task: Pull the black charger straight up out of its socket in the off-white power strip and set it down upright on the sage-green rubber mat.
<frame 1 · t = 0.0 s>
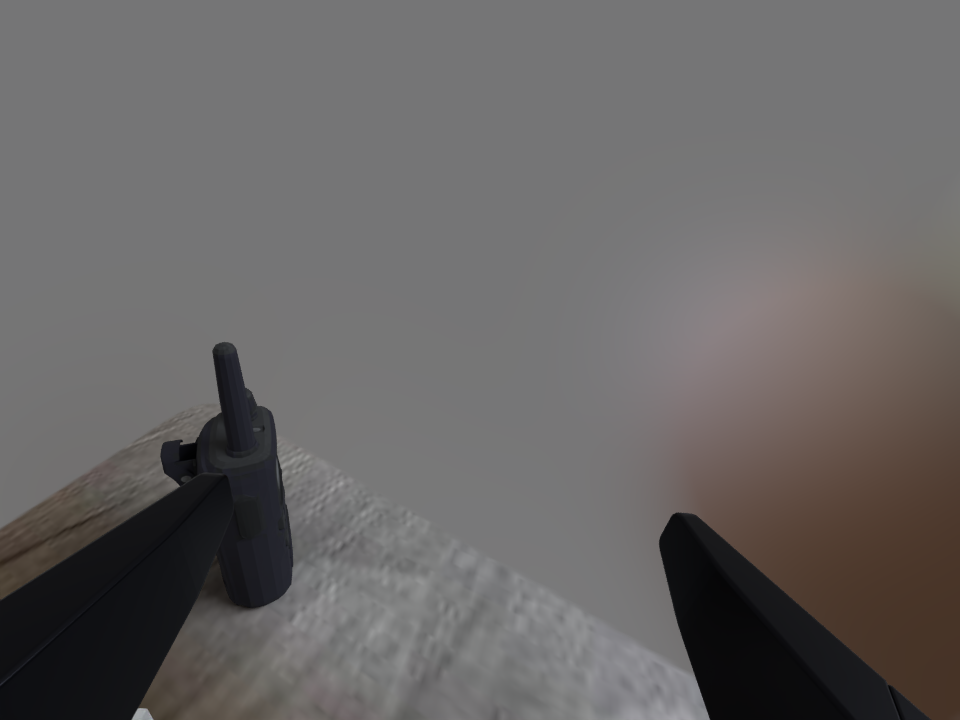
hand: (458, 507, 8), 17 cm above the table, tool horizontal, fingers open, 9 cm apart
two-way radio: (251, 573, 23), on the table
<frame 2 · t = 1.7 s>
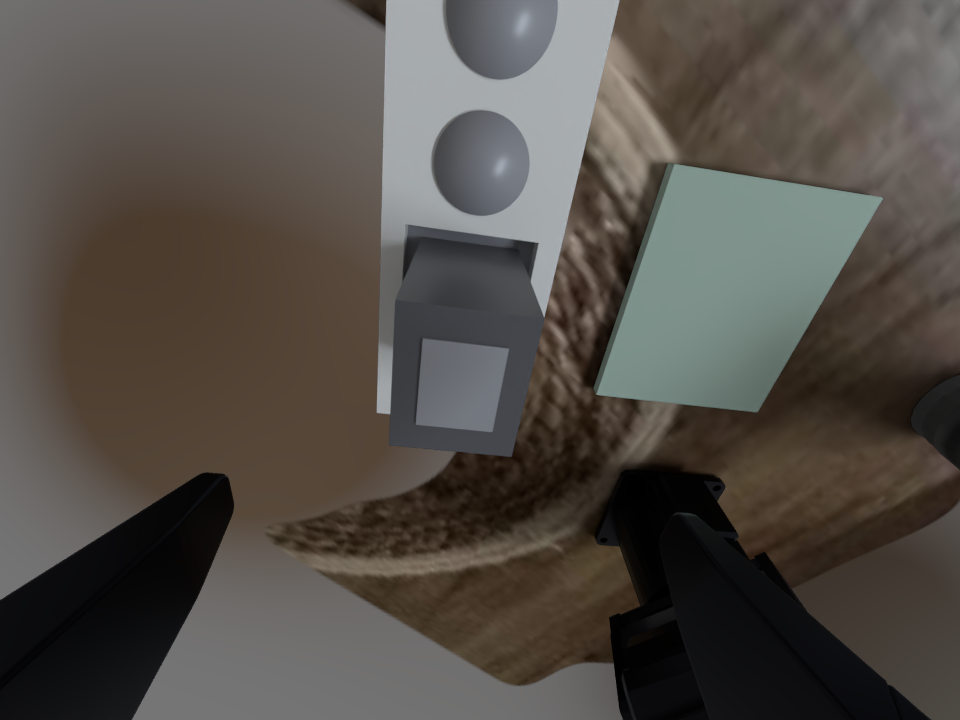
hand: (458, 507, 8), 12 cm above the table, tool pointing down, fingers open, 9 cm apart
charger: (463, 299, 18), point 1 cm above the table, touching power strip
power strip: (475, 200, 17), on the table
mat: (715, 303, 20), on the table
beverage cup: (951, 403, 23), on the table
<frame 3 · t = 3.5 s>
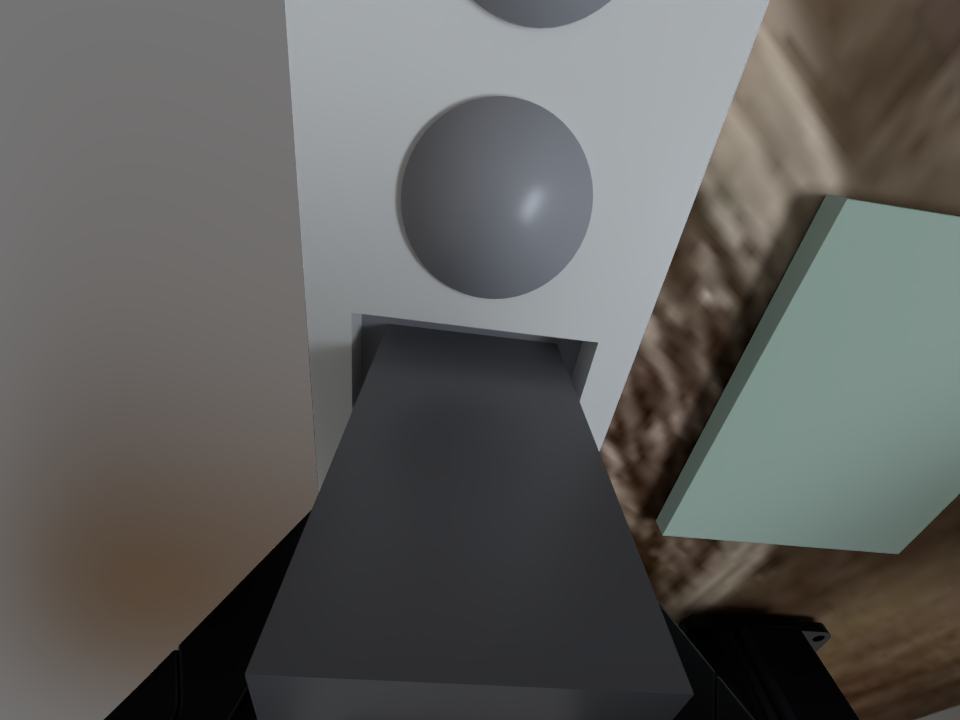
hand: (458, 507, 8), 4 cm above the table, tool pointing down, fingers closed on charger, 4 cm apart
charger: (461, 418, 11), point 1 cm above the table, touching gripper, power strip
power strip: (482, 258, 10), on the table
mat: (862, 410, 12), on the table
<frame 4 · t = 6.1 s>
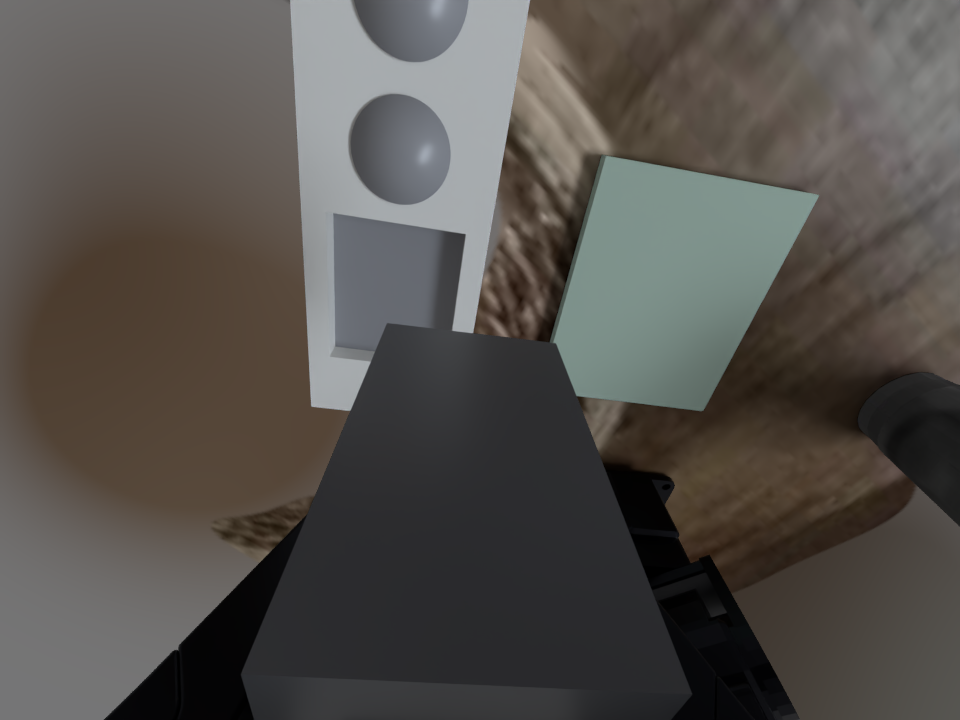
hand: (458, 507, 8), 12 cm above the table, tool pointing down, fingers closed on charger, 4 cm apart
charger: (460, 417, 11), point 9 cm above the table, touching gripper
power strip: (405, 189, 17), on the table
mat: (657, 299, 19), on the table
beverage cup: (898, 404, 23), on the table
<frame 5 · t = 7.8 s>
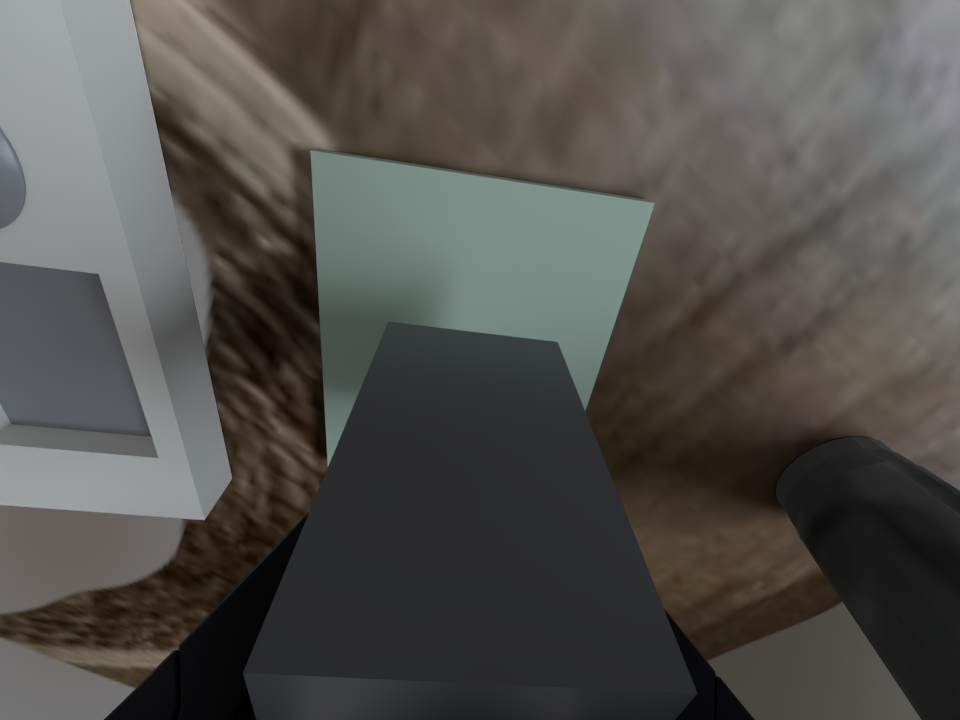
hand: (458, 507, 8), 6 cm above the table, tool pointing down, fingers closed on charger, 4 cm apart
charger: (461, 416, 11), point 4 cm above the table, touching gripper
power strip: (43, 207, 11), on the table
mat: (463, 351, 14), on the table
beverage cup: (828, 474, 17), on the table
when the fingers open (5 cm above the table, at t = 8.9 s): charger drops 1 cm, resting on mat.
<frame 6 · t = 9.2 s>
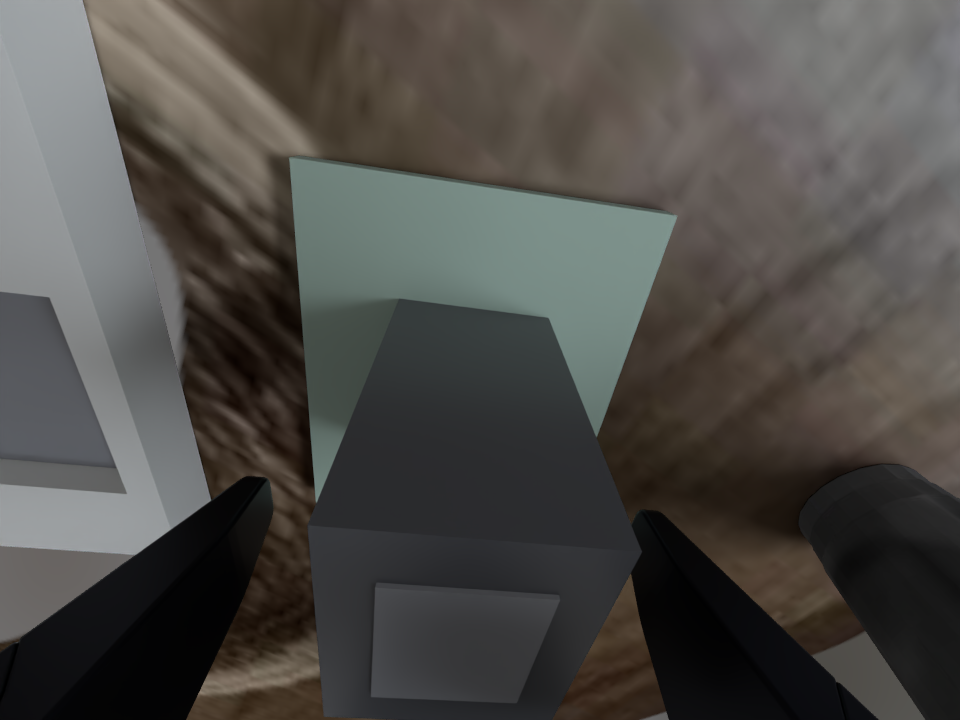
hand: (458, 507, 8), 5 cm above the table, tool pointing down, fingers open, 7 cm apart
charger: (463, 386, 12), point 1 cm above the table, touching mat
mat: (462, 375, 13), on the table
beverage cup: (855, 502, 16), on the table
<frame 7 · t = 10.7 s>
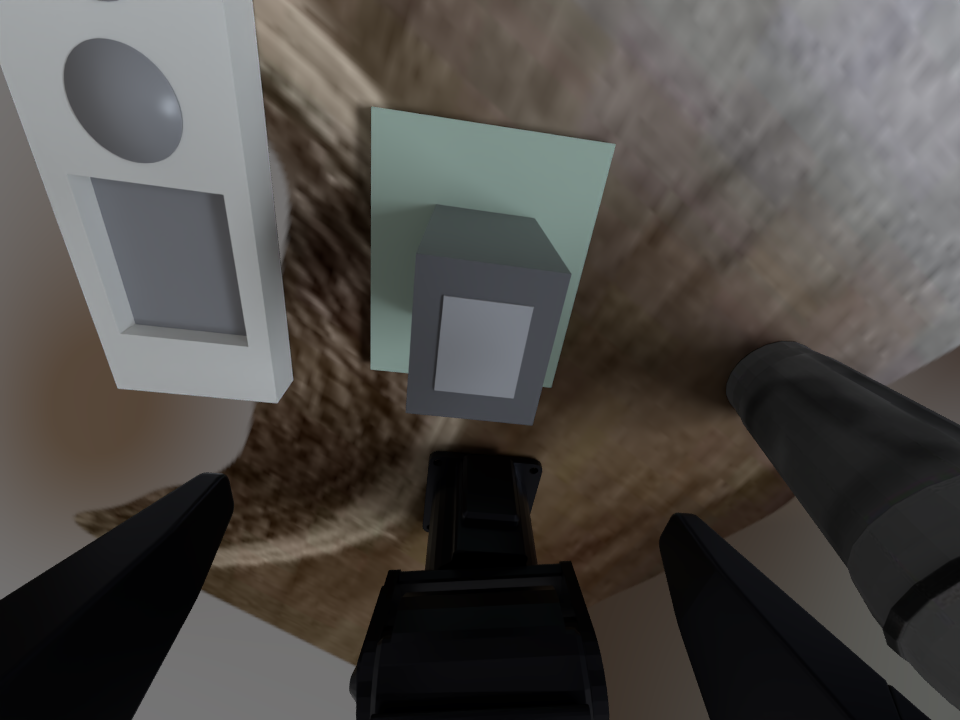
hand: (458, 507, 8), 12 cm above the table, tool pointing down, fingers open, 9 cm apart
charger: (477, 271, 18), point 1 cm above the table, touching mat
power strip: (175, 152, 16), on the table
mat: (476, 267, 18), on the table
beverage cup: (767, 377, 22), on the table
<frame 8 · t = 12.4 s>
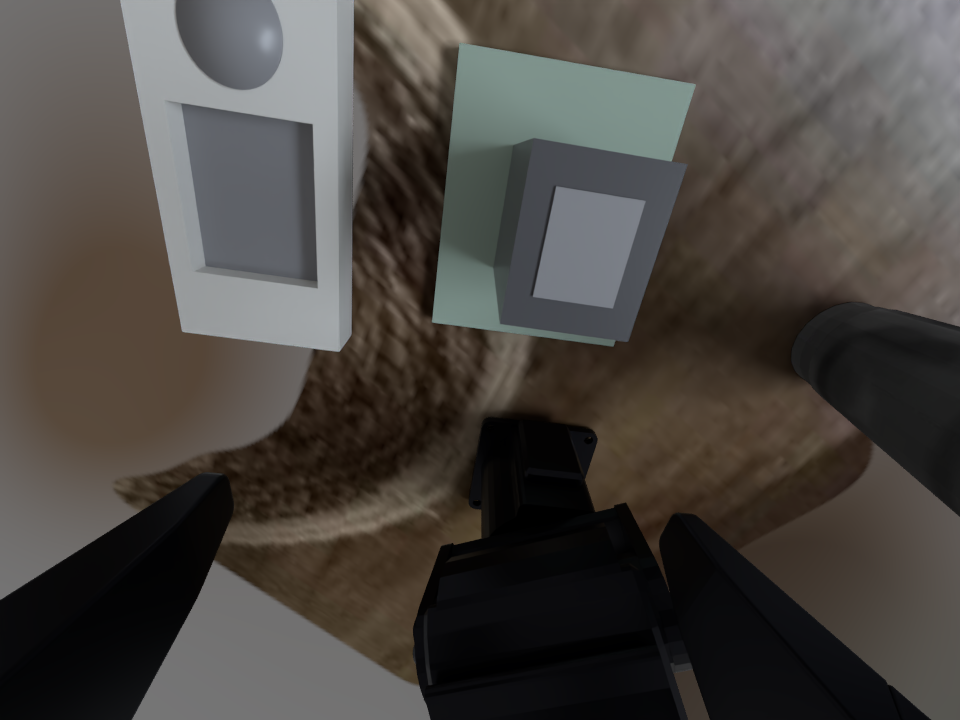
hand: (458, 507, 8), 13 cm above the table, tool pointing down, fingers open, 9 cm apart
charger: (548, 217, 18), point 1 cm above the table, touching mat
power strip: (263, 90, 16), on the table
mat: (546, 215, 18), on the table
beverage cup: (834, 342, 21), on the table
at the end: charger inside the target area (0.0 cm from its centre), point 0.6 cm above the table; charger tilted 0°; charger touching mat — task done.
